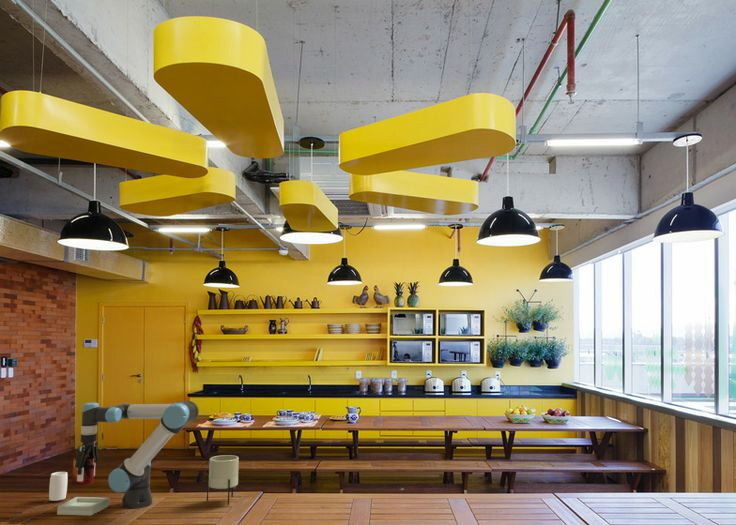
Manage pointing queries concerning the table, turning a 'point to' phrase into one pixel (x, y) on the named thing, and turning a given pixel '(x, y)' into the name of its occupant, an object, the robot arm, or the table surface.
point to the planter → (223, 473)
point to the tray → (83, 506)
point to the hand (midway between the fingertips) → (86, 478)
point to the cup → (58, 486)
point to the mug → (88, 472)
